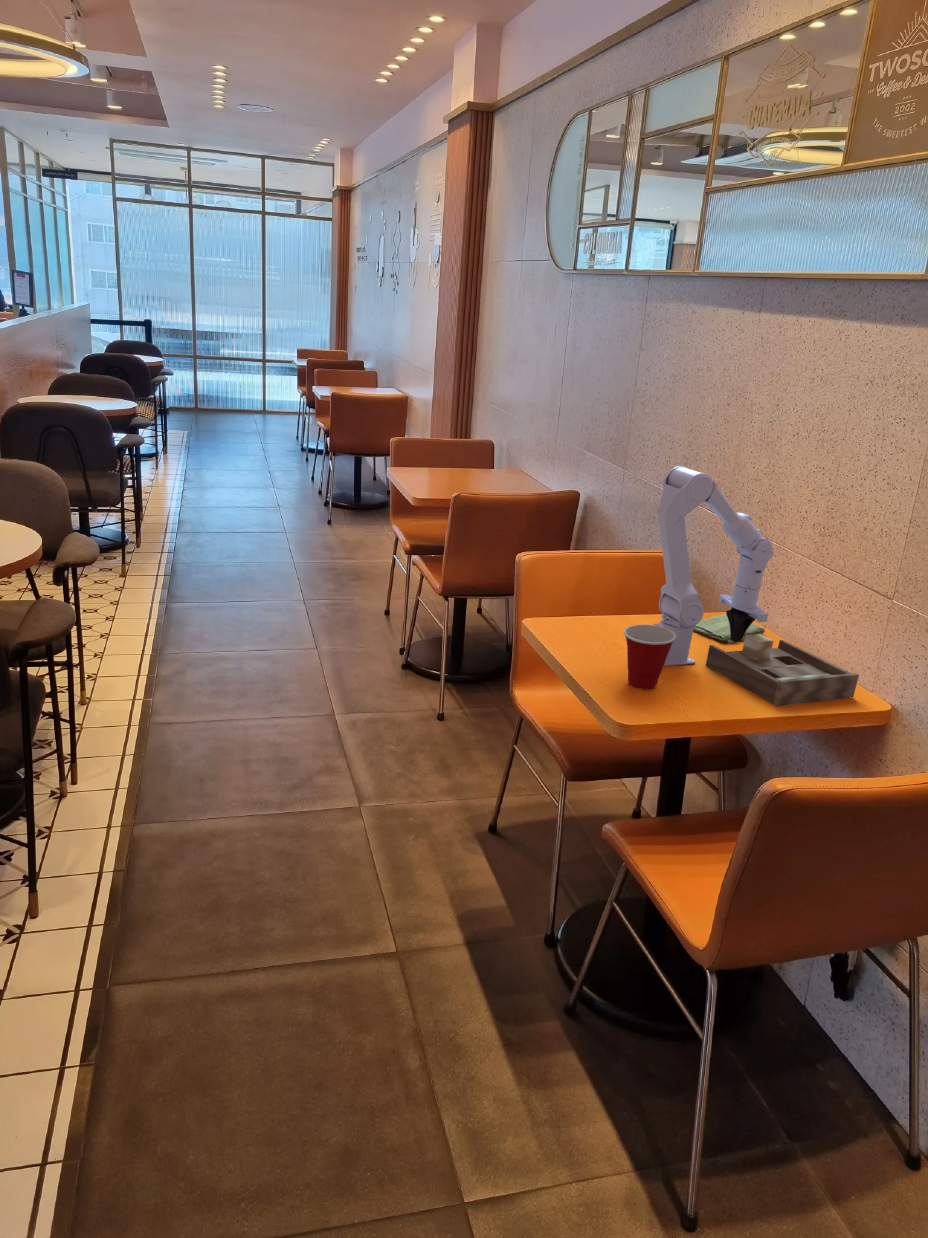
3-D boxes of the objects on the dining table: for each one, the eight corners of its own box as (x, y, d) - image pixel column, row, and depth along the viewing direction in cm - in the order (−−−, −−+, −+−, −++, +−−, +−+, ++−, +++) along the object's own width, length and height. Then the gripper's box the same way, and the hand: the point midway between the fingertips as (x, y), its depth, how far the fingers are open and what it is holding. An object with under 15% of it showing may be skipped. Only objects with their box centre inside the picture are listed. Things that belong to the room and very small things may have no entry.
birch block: (754, 659, 204) (758, 641, 203) (741, 652, 208) (745, 635, 206) (769, 658, 206) (773, 640, 205) (756, 651, 210) (760, 634, 208)
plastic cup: (605, 676, 193) (614, 623, 189) (648, 673, 197) (657, 622, 194) (632, 696, 184) (642, 641, 180) (676, 693, 188) (686, 639, 184)
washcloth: (684, 630, 231) (686, 618, 230) (726, 622, 242) (728, 610, 241) (725, 647, 222) (727, 634, 221) (767, 638, 232) (770, 626, 231)
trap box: (776, 706, 187) (782, 682, 185) (705, 665, 206) (710, 642, 204) (853, 698, 196) (859, 674, 194) (778, 659, 215) (783, 637, 214)
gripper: (782, 594, 204) (770, 650, 208) (739, 576, 216) (728, 629, 221) (758, 595, 201) (746, 652, 205) (716, 577, 213) (705, 631, 218)
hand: (735, 640), depth 213 cm, fingers closed
